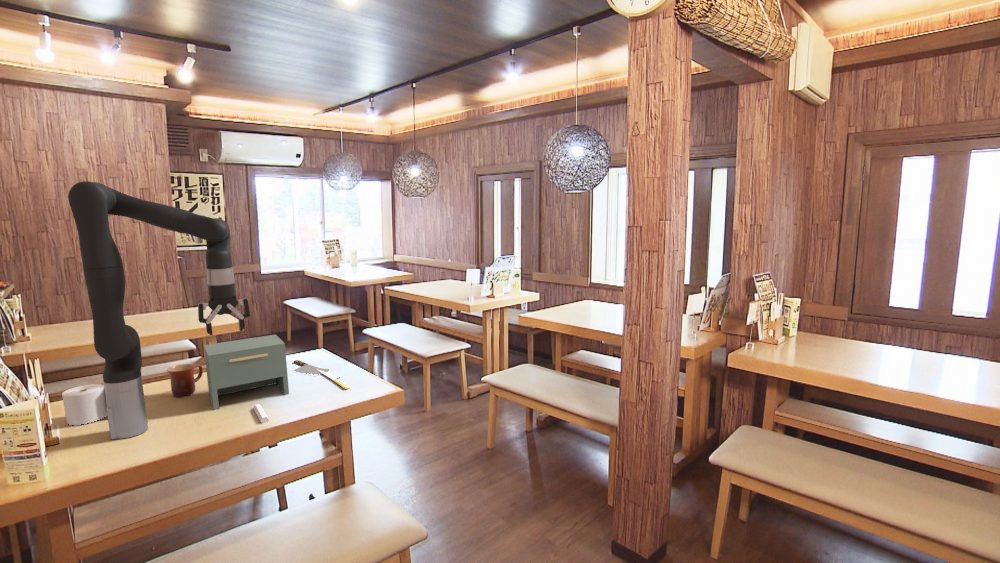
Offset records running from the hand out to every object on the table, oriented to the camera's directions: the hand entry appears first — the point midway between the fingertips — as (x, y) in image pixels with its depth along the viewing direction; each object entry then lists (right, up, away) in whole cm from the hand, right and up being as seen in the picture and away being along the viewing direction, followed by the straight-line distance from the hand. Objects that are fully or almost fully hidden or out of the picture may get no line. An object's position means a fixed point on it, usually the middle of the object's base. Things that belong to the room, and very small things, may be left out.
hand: (226, 332), depth 162 cm
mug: (-28, -25, +26) cm, 46 cm away
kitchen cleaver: (+6, -21, +51) cm, 56 cm away
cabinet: (-4, -25, +23) cm, 34 cm away
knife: (+21, -22, +40) cm, 50 cm away
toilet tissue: (-47, -29, +5) cm, 55 cm away
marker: (+8, -28, +6) cm, 30 cm away
